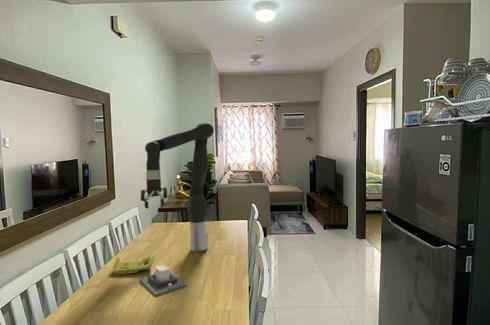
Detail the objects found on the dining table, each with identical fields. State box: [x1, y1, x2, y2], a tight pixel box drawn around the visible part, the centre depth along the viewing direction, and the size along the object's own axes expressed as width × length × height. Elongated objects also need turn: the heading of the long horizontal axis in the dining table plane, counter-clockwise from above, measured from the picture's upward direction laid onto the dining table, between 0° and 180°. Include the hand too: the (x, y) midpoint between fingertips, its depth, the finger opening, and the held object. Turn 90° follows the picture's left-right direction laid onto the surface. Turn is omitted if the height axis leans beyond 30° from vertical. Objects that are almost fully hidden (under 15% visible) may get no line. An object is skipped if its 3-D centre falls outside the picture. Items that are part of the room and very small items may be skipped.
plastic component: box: [112, 253, 156, 275], centre depth 150 cm, size 20×7×10 cm
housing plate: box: [138, 271, 187, 297], centre depth 135 cm, size 14×19×3 cm
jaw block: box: [154, 264, 170, 283], centre depth 135 cm, size 4×6×6 cm, turn 39°
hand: (154, 207), depth 166 cm, fingers open, 8 cm apart
